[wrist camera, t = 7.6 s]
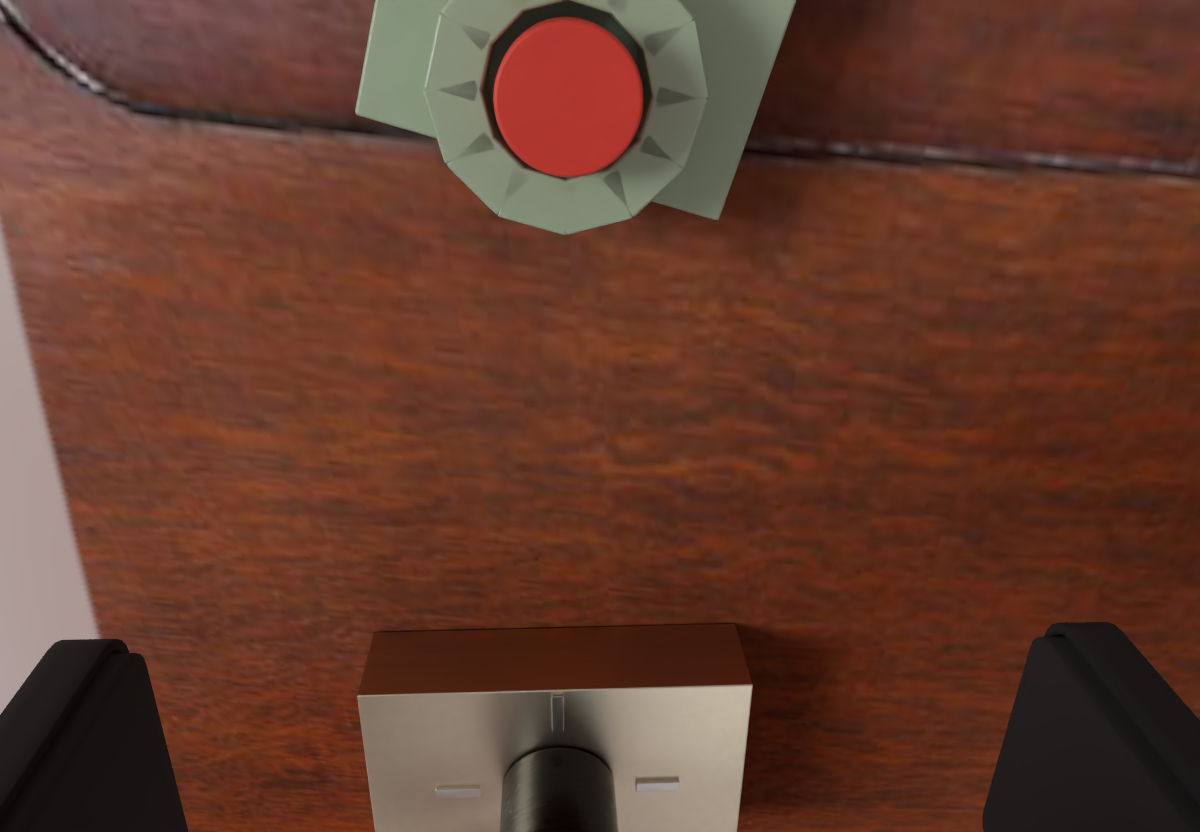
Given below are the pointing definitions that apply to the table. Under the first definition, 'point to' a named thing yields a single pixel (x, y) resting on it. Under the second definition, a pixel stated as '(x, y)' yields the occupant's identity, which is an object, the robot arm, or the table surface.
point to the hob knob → (558, 793)
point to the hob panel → (556, 721)
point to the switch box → (670, 94)
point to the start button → (568, 97)
